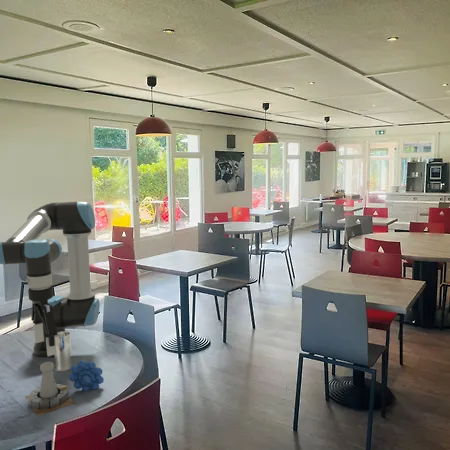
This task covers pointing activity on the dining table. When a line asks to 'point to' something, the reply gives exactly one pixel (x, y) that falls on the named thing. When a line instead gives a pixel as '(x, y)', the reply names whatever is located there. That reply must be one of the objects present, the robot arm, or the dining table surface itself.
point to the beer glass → (63, 351)
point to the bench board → (40, 412)
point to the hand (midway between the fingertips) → (45, 348)
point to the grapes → (86, 375)
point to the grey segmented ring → (48, 403)
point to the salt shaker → (48, 381)
